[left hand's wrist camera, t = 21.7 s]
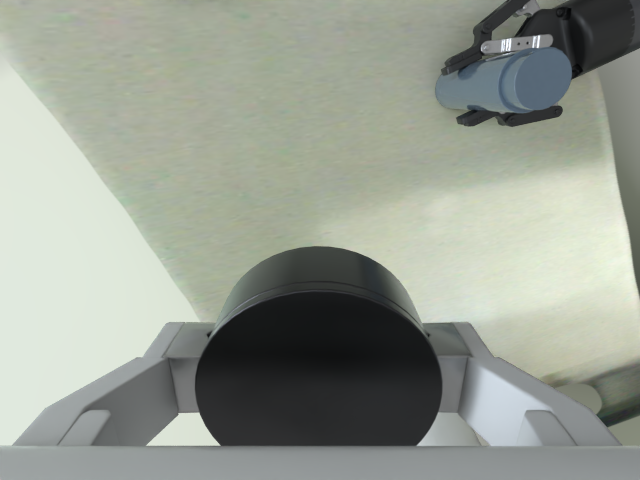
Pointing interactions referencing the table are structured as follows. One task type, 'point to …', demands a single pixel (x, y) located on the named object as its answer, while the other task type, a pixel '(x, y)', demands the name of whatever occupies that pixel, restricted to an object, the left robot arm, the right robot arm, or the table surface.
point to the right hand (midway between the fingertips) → (452, 97)
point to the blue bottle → (508, 82)
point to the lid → (318, 357)
